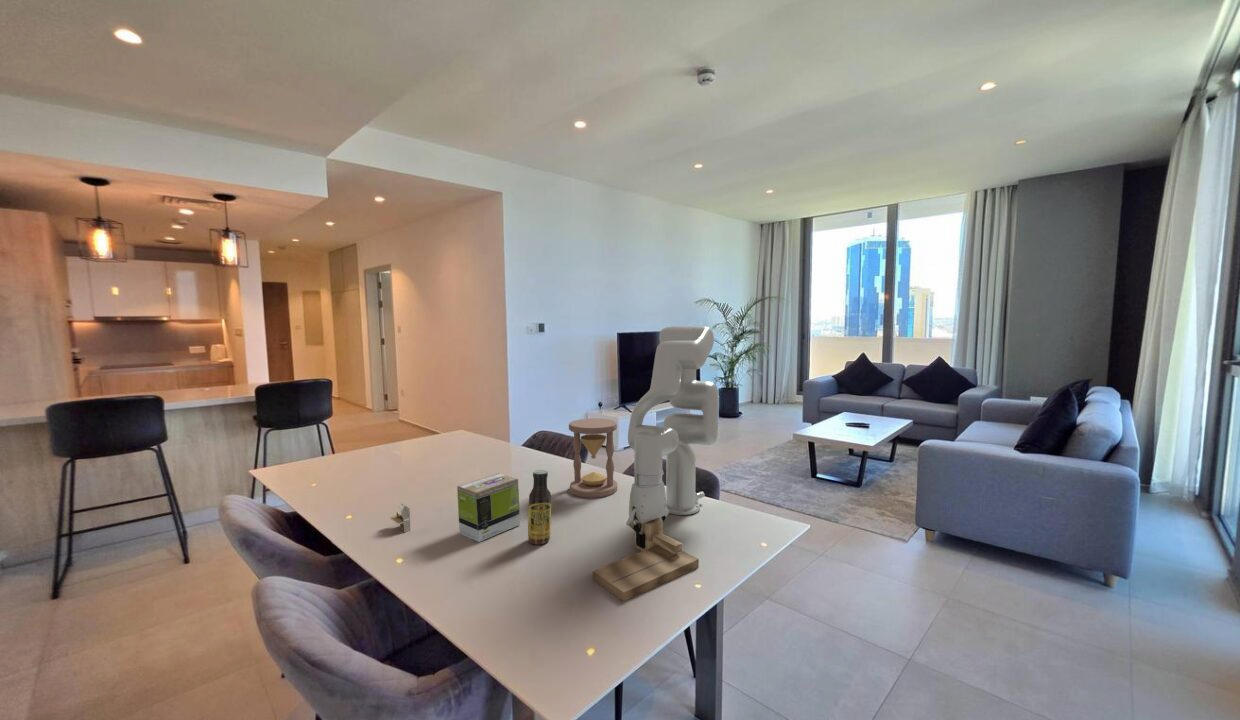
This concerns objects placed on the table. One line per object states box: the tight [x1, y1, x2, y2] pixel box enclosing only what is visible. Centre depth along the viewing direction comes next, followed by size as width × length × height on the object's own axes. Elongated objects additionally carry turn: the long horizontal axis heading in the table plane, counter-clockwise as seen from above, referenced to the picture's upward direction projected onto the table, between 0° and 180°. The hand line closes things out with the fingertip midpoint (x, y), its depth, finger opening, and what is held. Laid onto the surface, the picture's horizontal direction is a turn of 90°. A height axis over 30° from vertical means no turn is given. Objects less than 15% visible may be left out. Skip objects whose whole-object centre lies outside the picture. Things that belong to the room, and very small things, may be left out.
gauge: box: [633, 519, 683, 555], centre depth 127 cm, size 5×14×8 cm, turn 38°
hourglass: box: [568, 417, 618, 499], centre depth 176 cm, size 18×18×25 cm
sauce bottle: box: [527, 469, 552, 546], centre depth 134 cm, size 7×6×20 cm
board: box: [592, 545, 700, 602], centre depth 117 cm, size 24×12×2 cm, turn 128°
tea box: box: [456, 473, 521, 543], centre depth 142 cm, size 15×10×15 cm, turn 141°
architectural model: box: [389, 502, 411, 533], centre depth 143 cm, size 3×7×7 cm, turn 46°
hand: (648, 542), depth 130 cm, fingers closed on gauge, 5 cm apart
